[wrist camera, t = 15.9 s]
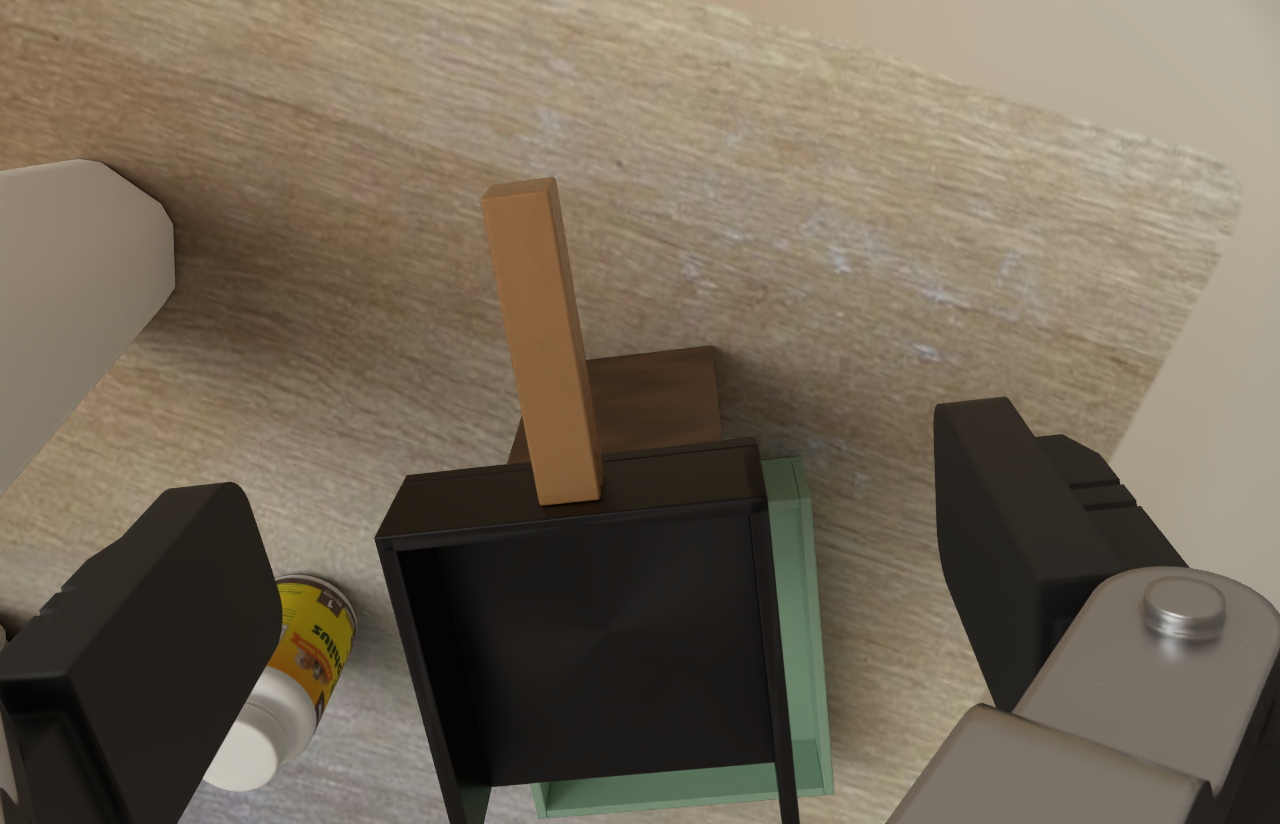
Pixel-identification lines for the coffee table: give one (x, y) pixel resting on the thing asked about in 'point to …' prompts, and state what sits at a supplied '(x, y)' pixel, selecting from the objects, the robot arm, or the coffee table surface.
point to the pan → (584, 575)
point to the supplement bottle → (288, 685)
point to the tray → (802, 683)
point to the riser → (649, 401)
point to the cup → (70, 292)
